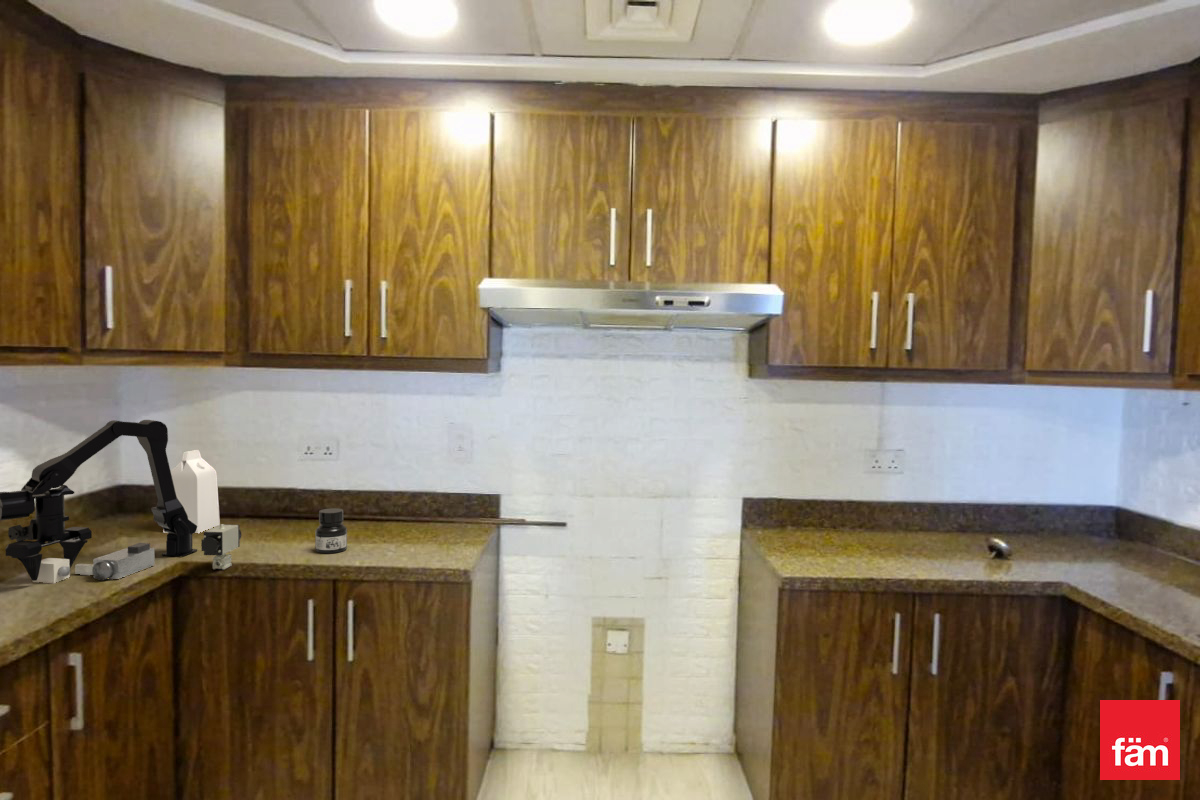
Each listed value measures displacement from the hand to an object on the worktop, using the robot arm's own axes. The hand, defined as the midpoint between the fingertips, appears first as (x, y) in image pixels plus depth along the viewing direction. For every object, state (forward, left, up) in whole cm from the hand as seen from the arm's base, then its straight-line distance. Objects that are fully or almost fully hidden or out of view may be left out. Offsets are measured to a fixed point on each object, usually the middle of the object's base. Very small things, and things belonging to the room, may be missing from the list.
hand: (51, 574), depth 172 cm
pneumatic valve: (-17, +34, -2) cm, 38 cm away
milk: (-54, -3, -2) cm, 54 cm away
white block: (0, 0, -2) cm, 2 cm away
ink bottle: (-39, +54, -2) cm, 67 cm away
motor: (-8, +9, -1) cm, 12 cm away
